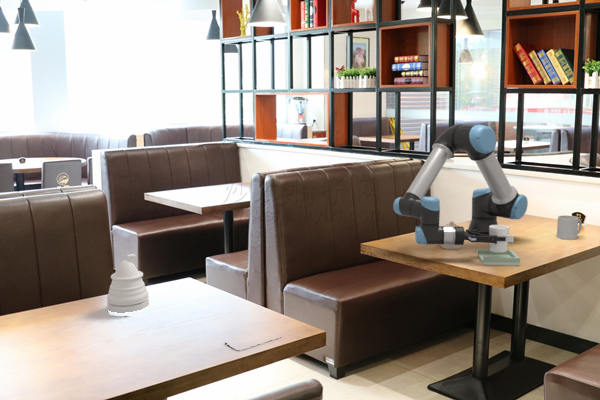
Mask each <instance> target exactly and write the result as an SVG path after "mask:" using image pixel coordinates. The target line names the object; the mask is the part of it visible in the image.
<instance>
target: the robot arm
mask: <svg viewBox="0 0 600 400" xmlns="http://www.w3.org/2000/svg"><path fill="white" fill-rule="evenodd" d="M496 139H497V136H496V133H495V131H494V129H493V128H492V127H490V126H488V125H485V124H484V125H483V124H454V125H451V126H450V127H448V128H447V129H446V130H444V131H443V132H442V133H441V134H440V135H439V136H438V137H436V140H435V141H434V142H433V144H432V146H431V148H432V150H431V152H430V153H429V155H428V156H427V158H426V160H425V161H424V163H423V165H422V167H421V168H420V170H419V171H418V173H417V174H416V176H415V177H414V179H413V181H412V182H411V184H410V186H409V187H408V189H407V190H406V192H405V194H404V195H403V196H399V197H397V198H395V200H394V202H393V205H392V207H393V208H392V209H393V211H394V212H395V214H397V215H399V216H403V217H411V218H415V219H419V220H420V225H416V226H415V231H414V237H415V238H414V239H415V243H416V244H418V245H420V244H421V245H441V244H445V246H447V244H449V245H452V244H453V243H454V244H455V245H461V246H464V244H465V241H468V242H470V243H485V244H489V243H495V244H497V242H508V243H514V239H515V235H514V234H509V235H497V236H494V235H489V226H490V225H499V224H498V221H497V219H498V218H497V217H499V218H504V219H509V220H521V219H522V218H523V217H524V215H525V214H526V212H527V210H528V205H529V204H528V203H529V202H528V198H527V196H526V195H524V194H519V193H518V192H519V191H518V190H517V188H516V186H513V185H511V184H510V182H509V180H508V178H507V176H506V174H505V172H504V170H503V167H502V166H501V164H500V162H499V160H498V158H497V156H496V154H495V152H494V151H495V149H496V148H495V147H496V146H497V140H496ZM456 152H463V153H464V152H465V153H466V154H467V156H468V159H470V160H471V161H474V162H475V164H476V165H477V167H478V170H479V171H480V173H481V175H482V176H483V180H484V181H485V182H486V184H487V186H488V187H487V188H486V187H483V188H476V189H474V190H473V192H472V197H471V200H472V201H471V220H470V222H469V225H468V228H466V229H465V227H464V226H460V227H457V226H458V225H457V226H455V227H454V228H453V226H445V225H442V226H441V225H440V216H441V211H440V210H441V207H440V206H441V203H440V198H438V197H437V196H426V195H427V193H428V191H429V190H430V188H431V186H432V185H433V183H434V181H435V179H436V178H437V176H438V175H439V173H440V172H441V170H442V168H443V167H444V165H445V164H446V162H447V160H448V159H450V158H452V157H453V155H454V154H455V153H456Z"/></svg>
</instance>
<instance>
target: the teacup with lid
mask: <svg viewBox="0 0 600 400" xmlns="http://www.w3.org/2000/svg"><path fill="white" fill-rule="evenodd" d="M444 226H453V228H454V227H455V226H457V227H461V226H460V225H457V224H455V222H454V221H449V223H447V224H445V225H444ZM440 246H441V248H443V249H445V250H459V249H461V248H462V245H455V244H454V243H453V244H452V245H449V244H447V246H445V244H440Z"/></svg>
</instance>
